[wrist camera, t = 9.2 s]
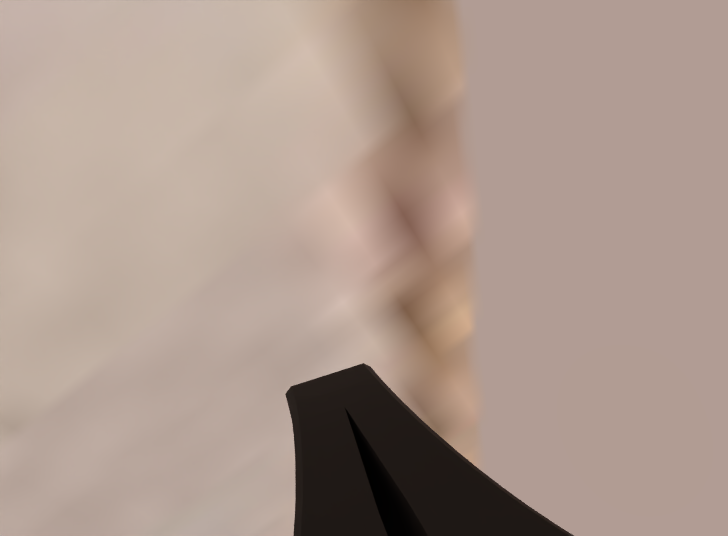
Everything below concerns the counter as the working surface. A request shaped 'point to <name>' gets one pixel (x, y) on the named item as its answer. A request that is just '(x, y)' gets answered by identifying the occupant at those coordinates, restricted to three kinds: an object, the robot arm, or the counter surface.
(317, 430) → the robot arm
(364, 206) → the counter surface
